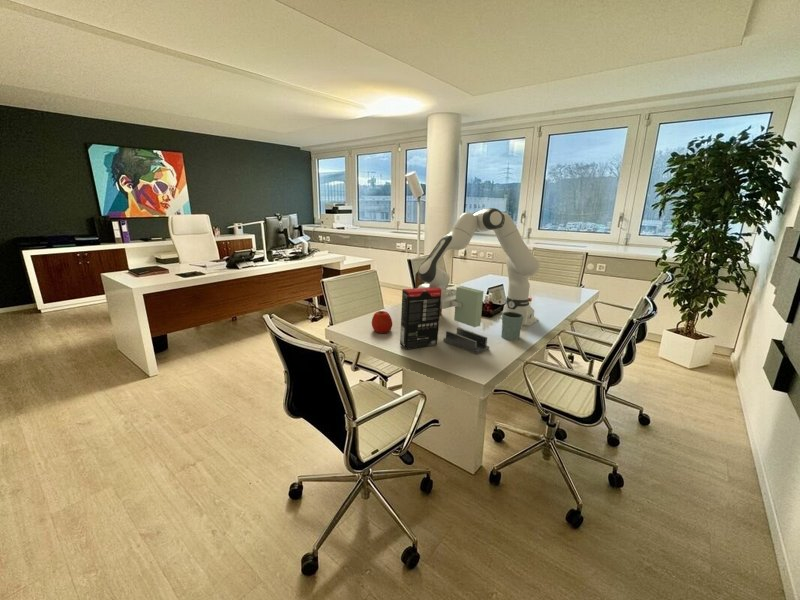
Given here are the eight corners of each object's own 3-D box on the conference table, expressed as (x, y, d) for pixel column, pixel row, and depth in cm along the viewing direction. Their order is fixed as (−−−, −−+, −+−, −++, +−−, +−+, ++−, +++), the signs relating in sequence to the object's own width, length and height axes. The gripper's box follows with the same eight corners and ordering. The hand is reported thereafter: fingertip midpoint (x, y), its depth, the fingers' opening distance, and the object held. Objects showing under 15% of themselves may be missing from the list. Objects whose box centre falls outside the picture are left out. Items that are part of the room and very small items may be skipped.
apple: (368, 328, 179) (368, 309, 176) (388, 326, 183) (388, 307, 180) (374, 335, 169) (374, 315, 167) (395, 333, 173) (395, 313, 170)
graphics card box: (431, 340, 165) (434, 285, 158) (439, 345, 159) (442, 288, 152) (399, 345, 158) (400, 288, 151) (405, 351, 152) (407, 291, 145)
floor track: (455, 336, 170) (456, 326, 169) (489, 349, 155) (490, 338, 154) (443, 341, 164) (443, 330, 163) (476, 354, 150) (477, 343, 148)
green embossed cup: (505, 341, 166) (507, 317, 163) (496, 333, 175) (498, 311, 172) (524, 340, 167) (527, 317, 164) (514, 333, 177) (517, 311, 174)
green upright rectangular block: (459, 318, 163) (462, 286, 158) (480, 325, 154) (483, 291, 150) (454, 320, 160) (456, 287, 156) (474, 327, 151) (477, 292, 147)
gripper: (428, 294, 159) (451, 301, 149) (457, 288, 171) (479, 294, 161) (427, 307, 160) (450, 315, 150) (456, 301, 173) (478, 307, 163)
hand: (465, 304), depth 156 cm, fingers closed on green upright rectangular block, 4 cm apart
